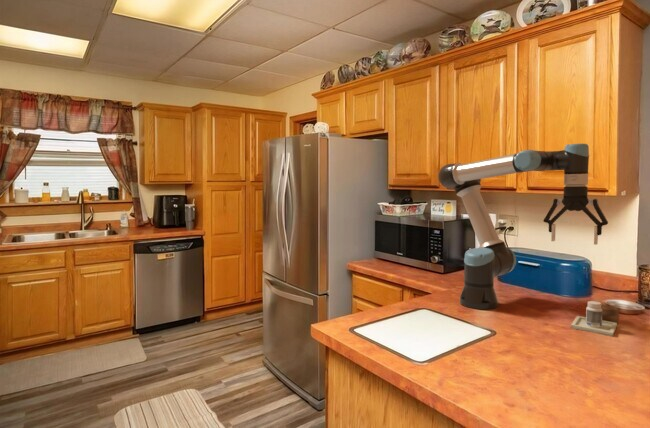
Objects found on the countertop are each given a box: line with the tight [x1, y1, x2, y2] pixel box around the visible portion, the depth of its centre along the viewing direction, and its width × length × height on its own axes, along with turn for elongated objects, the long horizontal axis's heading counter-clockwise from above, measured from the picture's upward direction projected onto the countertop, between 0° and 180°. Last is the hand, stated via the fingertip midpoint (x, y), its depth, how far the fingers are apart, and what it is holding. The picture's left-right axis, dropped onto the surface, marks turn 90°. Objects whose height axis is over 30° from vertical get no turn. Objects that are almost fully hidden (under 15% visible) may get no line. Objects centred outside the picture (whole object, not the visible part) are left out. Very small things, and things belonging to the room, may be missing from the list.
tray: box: [570, 315, 618, 337], centre depth 137 cm, size 12×12×1 cm
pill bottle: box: [585, 300, 602, 328], centre depth 137 cm, size 5×5×8 cm
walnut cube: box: [601, 304, 620, 325], centre depth 143 cm, size 5×5×5 cm
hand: (573, 242), depth 145 cm, fingers open, 13 cm apart
